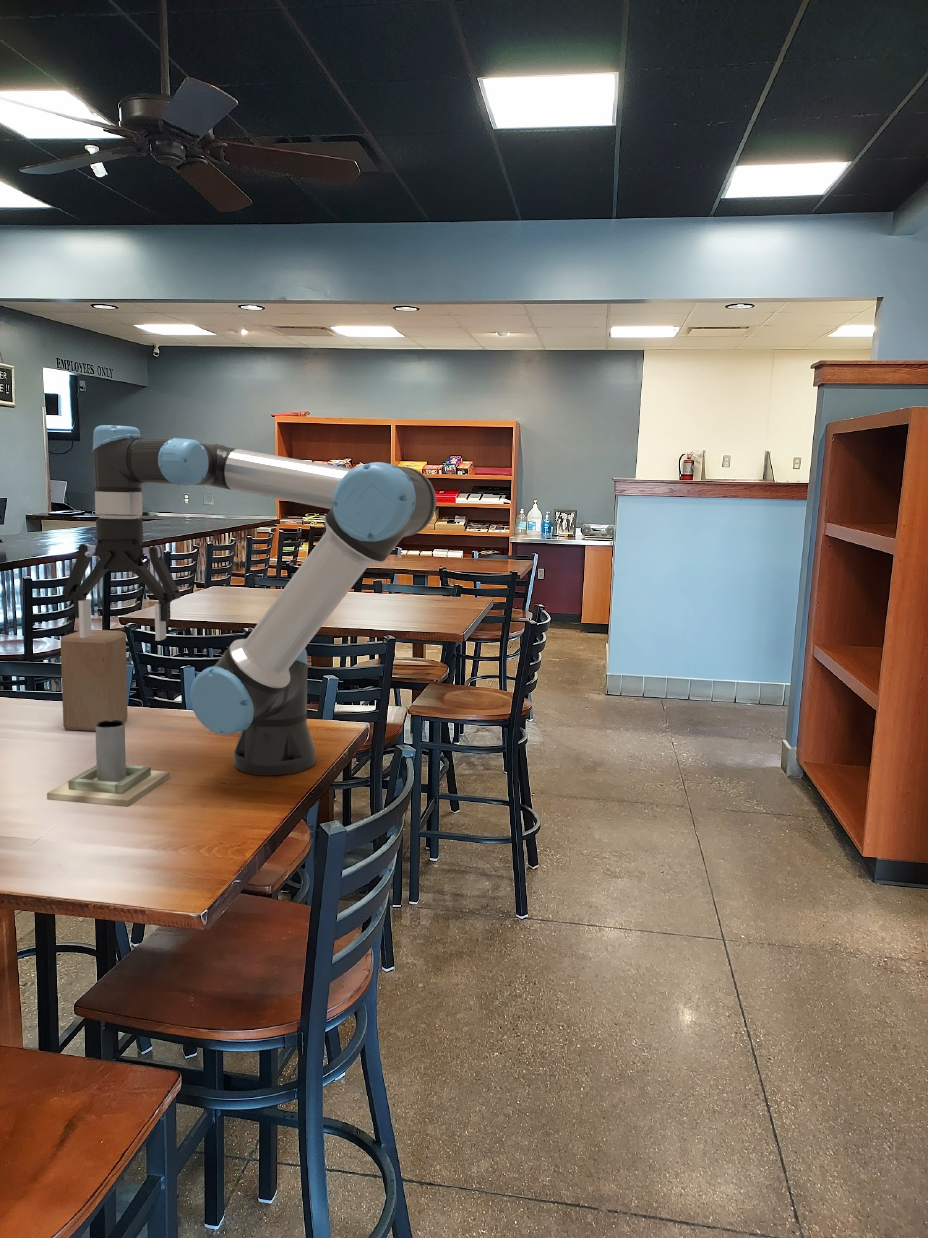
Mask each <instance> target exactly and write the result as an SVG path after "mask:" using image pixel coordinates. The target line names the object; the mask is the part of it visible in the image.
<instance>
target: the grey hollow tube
mask: <svg viewBox="0 0 928 1238" xmlns="http://www.w3.org/2000/svg"><path fill="white" fill-rule="evenodd" d="M95 752H96V753H95V755H96V756H95V757H96V758H95V761H96V763H95V764H96V765H97V780H99V781H110V782H120V781H122V780H123V779H125V778H126V765H127V761H126V723H125V721H124V722H123V721H120V720H106V721H101V722H98V723H97V724H96V731H95Z"/></svg>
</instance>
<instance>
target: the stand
mask: <svg viewBox="0 0 928 1238" xmlns="http://www.w3.org/2000/svg"><path fill="white" fill-rule="evenodd" d="M169 778H171V772H170V771H162V770H161V771H160V770H152V767H151V766H145V765H134V764H133V765H132V764H126V778H125V779H123V780H122V781H120V782H110V781H99V780H97V764H95V765H94V766H92V767H90V768H88V769H86V770H85V771H83V772H80V774H78V775H76V776H74V777H72V778H71V779H68V781H66V782H64V783H63V784H60V785H59V786H57V787H55V788H53V789H52V790H50V791H48V792H47V793H46V800H54V801H55V800H57V801H66V802H67V801H68V802H75V803H77V802H78V803H86V804H97V805H98V804H99V805H109V806H120V807H129V806H131V805H132V804H133V803H135V802H136V801H138V800H139V799H140V798H142V797H144V796H145V795H146V794H148V793H149V792H151V791H152V790H154V789H155V788H157V787H158V786H160V785H161V784H163V782H165V781H167V780H169Z"/></svg>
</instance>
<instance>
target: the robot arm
mask: <svg viewBox="0 0 928 1238" xmlns="http://www.w3.org/2000/svg"><path fill="white" fill-rule="evenodd" d="M92 437H93V438H92V439H93V440H92V441H93V442H92V451H91V453H92V458H93V471H94V510H95V512H94V513H95V515H96V516H99V518H96V520H95V534H96V535H95V536H96V541H97V543H96V545H92V543H83V544H80V545H78V549H77V550H78V554H77V558H76V561H75V562H74V565H73V567H72V570H71V572H70V574H69V576H68V578H67V581H66V582H65V585H64V587H63V590H62V592H61V593H62V595H63V596H64V597H69V598H71V599H72V600H73V607H74V608H73V609H74V610H73V611H74V617H75V618H76V619H78V621H79V625H78V627H79V631H80V638H85V637H88V636H91V635H92V630H93V628H92V627H93V625H92V605H91V603H92V601H91V598H88V595H89V594H90V593H91V591H92V590H93V589H94V588H95V586H96V585H97V584H98V583H99V582H100V580H101V579H102V578H103V577H104V576H105V574H106V573H107V572H108V571H110V572H116V571H121V572H130V571H131V572H132V573H133V574H134V575H135V576H137V577H138V579H139V580H140V581H141V582H142V583H143V585H145V587H146V588H147V589H148V590H149V592H151V593H152V595H153V597H155V599H156V600H157V601H158V602H156V603H154V631H155V634H154V635H155V636H154V637H155V639H154V640H155V641H157V642H159V641H160V642H161V641H163V640H165V639H166V638H167V622H168V621H170V619H171V604H172V603H171V602H173V601H175V600H178V599H180V598H181V597H182V594H181V591H180V590H179V587H178V585H177V584H176V581H175V580H174V577H173V576H172V574H171V572H170V570H169V568H168V565H167V563H166V562H165V560H164V558H163V557H164V556H163V550H162V547H161V546H160V545H155V546H154V545H153V546H149V547H145V546H144V544H143V543H144V523H143V522H144V521H143V520H142V518H140V516H142V515H143V494H142V489H143V487H142V486H143V484H162V485H176V486H189V485H190V486H192V485H193V486H206V487H214V488H218V489H219V488H220V489H226V490H231V491H237V492H241V493H242V492H243V493H248V494H252V495H256V496H262V497H267V498H272V499H278V500H282V501H283V500H284V501H287V502H294V503H299V504H302V505H307V506H314V507H319V508H324V509H329V511H328V513H327V514H326V515H325V516H324V518H323V519H324V525H325V529H326V530H325V533H324V534H323V535H322V537H321V538H320V539H319V540H318V542H317V543H316V545H315V546H314V548H313V549H312V550H311V551H310V553H309V554H308V556H307V557H306V558H305V560H304V561H303V562H302V563H301V565H300V567H298V569H297V570H296V571H295V573H294V574H293V576H292V577H291V579H290V580H289V581H288V582H287V584H286V585H285V587H284V588H283V589H282V591H281V592H280V593H279V595H278V596H277V597H276V599H275V600H274V601H273V603H272V604H271V605H270V606H269V608H268V609H267V610H266V612H265V613H264V615H263V616H262V617H261V619H260V620H259V621H258V623H257V624H256V625H255V627H254V628H253V629H252V631H251V632H250V634H249V635H248V636H247V637H246V638H239V639H235V640H234V641H233V642H232V643H231V644H230V645H229V646H228V647H227V649H226V650H225V651H224V652H223V655H222V656H221V657H220V658H219V660H218V661H217V662H216V663H215V664H214V665H213V666H209V667H206V668H204V669H203V670H202V671H201V672H199V673H198V674H197V675H196V676H195V678H194V679H193V681H192V682H191V685H190V691H189V698H190V701H191V704H192V705H191V709H192V711H193V713H194V715H195V717H196V719H198V721H199V722H200V723H201V725H203V727H205V728H206V729H208V730H210V731H211V732H213V733H215V734H219V735H226V736H227V735H234V734H236V733H239V737H238V739H237V742H236V745H235V749H234V753H233V766H234V767H235V769H237V770H239V771H240V772H243V773H247V774H250V775H251V774H252V775H257V776H282V775H283V776H285V775H290V774H295V773H300V772H303V771H306V770H308V769H310V768H312V767H313V766H314V765H315V764H316V753H317V751H316V748H315V744H314V741H313V739H312V736H311V732H310V729H309V726H308V722H307V721H308V720H307V716H308V715H307V711H308V710H307V707H308V704H307V703H308V667H309V663H308V654H307V650H306V647H307V645H308V644H309V643H310V642H311V640H312V639H313V638H314V636H315V635H317V633H318V632H319V630H320V629H321V628H322V627H323V625H324V624H325V623H326V621H328V619H329V617H330V616H331V614H332V613H333V612H334V611H335V609H336V608H337V607H338V606H339V604H340V603H341V602H342V600H343V599H344V598H345V597H346V596H347V594H348V593H349V591H350V590H351V589H352V588H353V586H354V585H355V584H356V582H357V581H358V580H359V579H360V578H361V576H362V575H363V574H364V572H365V571H366V569H367V568H368V567H369V566H370V565H372V564H382V563H384V561H385V560H386V559H387V558H388V556H390V554H391V553H392V551H394V549H395V548H396V546H397V545H398V544H399V542H400V541H401V540H402V539H403V538H404V537H410V536H413V535H415V534H418V533H420V532H422V531H423V530H424V529H425V528H427V527H428V525H429V524H430V523H431V522H432V520H433V518H434V516H435V513H436V508H437V494H436V491H435V489H434V486H433V484H432V482H431V481H430V480H429V479H428V477H427V476H426V475H424V474H423V472H421V471H419V470H417V469H416V468H412V467H409V466H402V465H401V466H399V465H394V464H392V463H387V462H382V461H381V462H379V461H377V462H370V463H365V464H360V465H357V466H355V467H353V468H350V467H349V468H348V467H342V466H338V465H332V464H331V465H330V464H325V463H321V462H315V461H308V460H303V459H297V458H292V457H291V458H290V457H288V456H287V457H286V456H280V455H275V454H269V453H264V452H257V451H252V450H247V449H240V448H233V447H229V446H227V445H223V444H217V443H202V442H199V441H198V440H195V439H188V438H180V437H173V438H142V436H141V432H140V429H139V428H138V427H135V426H130V425H129V426H128V425H112V424H110V425H109V424H107V425H105V424H103V425H98V426H96V427H95V428H94V430H93V436H92ZM95 554H96V555H97V558H98V559H99V560H98V562H97V563H96V564H95V565H94V567H93V569H92V571H91V572H90V573H89V574H88V575H87V577H86V578H85V579H84V580H83V578H84V576H85V573H86V571H87V569H88V567H89V565H90V563H91V560H92V558H93V557H94V556H95ZM145 556H146V557H147V559H148V560H150V562H151V563H150V564H151V565H152V568H153V569H154V572H155V573H156V575H157V577H158V579H159V581H160V582H159V581H158V580H157V579H156V577H155V576H154V575H153V574H152V572H151V571H150V570H149V568H148V566H147V565H146V563H145V562H144V561H143V559H144V557H145ZM82 580H83V582H82Z"/></svg>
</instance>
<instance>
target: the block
mask: <svg viewBox="0 0 928 1238" xmlns="http://www.w3.org/2000/svg"><path fill="white" fill-rule="evenodd" d="M126 636H127V635H126V632H124V631H122V630H107V629H92V635H91V636H88V637H85V638H80V630H78V631H75V632H73V633H69V634H67V635H63V636H62V637H61V638H60V665H61V690H62V691H61V692H62V693H61V695H62V720H63V721H62V725H63V726H62V727H63V728H64V729H65V730H69V731H88V732H92V731H93V732H96V724H97V723H98V722H101V721H106V720H120V721H123V722H124V723H125V721H127V719H128V715H129V714H128V679H127V678H128V676H127V675H128V674H127V637H126Z"/></svg>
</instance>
